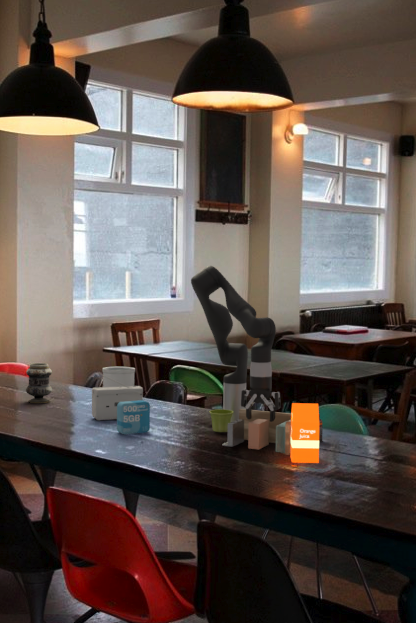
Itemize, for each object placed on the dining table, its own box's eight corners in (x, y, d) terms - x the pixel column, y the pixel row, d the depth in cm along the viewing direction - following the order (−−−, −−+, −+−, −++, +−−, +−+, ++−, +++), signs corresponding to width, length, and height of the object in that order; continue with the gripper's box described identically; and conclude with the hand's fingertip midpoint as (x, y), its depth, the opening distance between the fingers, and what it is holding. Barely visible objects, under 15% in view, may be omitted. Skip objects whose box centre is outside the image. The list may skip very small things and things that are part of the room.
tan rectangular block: (248, 448, 294) (248, 422, 293) (258, 443, 302) (258, 418, 301) (258, 449, 292) (259, 424, 291) (268, 444, 300) (268, 419, 299)
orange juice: (290, 460, 281) (290, 401, 280) (316, 461, 281) (317, 401, 280) (291, 466, 273) (292, 405, 272) (319, 466, 273) (319, 405, 272)
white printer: (139, 415, 362) (139, 369, 361) (144, 419, 354) (144, 371, 353) (91, 418, 356) (91, 371, 354) (95, 421, 348) (95, 373, 347)
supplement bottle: (323, 443, 309) (324, 412, 308) (320, 446, 303) (321, 415, 303) (307, 442, 311) (308, 411, 310) (304, 445, 305) (304, 414, 305)
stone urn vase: (49, 404, 389) (49, 365, 388) (23, 403, 389) (23, 365, 388) (54, 399, 401) (54, 362, 400) (29, 399, 401) (28, 362, 400)
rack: (240, 441, 310) (240, 408, 310) (304, 448, 299) (304, 414, 299) (221, 450, 296) (221, 415, 295) (288, 457, 285) (288, 422, 284)
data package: (121, 434, 321) (121, 403, 320) (116, 432, 325) (116, 401, 324) (149, 432, 327) (150, 401, 326) (145, 430, 331) (145, 399, 330)
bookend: (233, 440, 306) (234, 418, 306) (244, 441, 305) (244, 419, 304) (222, 445, 298) (222, 423, 297) (232, 446, 296) (232, 424, 295)
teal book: (286, 446, 298) (286, 421, 297) (295, 447, 296) (295, 422, 295) (275, 451, 289) (275, 425, 288) (285, 453, 287) (285, 426, 287)
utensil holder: (117, 402, 396) (117, 365, 395) (141, 405, 387) (141, 367, 386) (95, 406, 384) (95, 368, 383) (120, 410, 375) (120, 371, 374)
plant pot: (238, 433, 325) (238, 411, 325) (222, 437, 318) (222, 414, 318) (220, 430, 331) (220, 408, 331) (204, 433, 325) (204, 411, 324)
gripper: (238, 374, 295) (237, 420, 296) (276, 377, 289) (275, 423, 290) (246, 371, 302) (246, 416, 303) (283, 374, 296) (283, 420, 297)
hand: (260, 420), depth 296 cm, fingers open, 8 cm apart
